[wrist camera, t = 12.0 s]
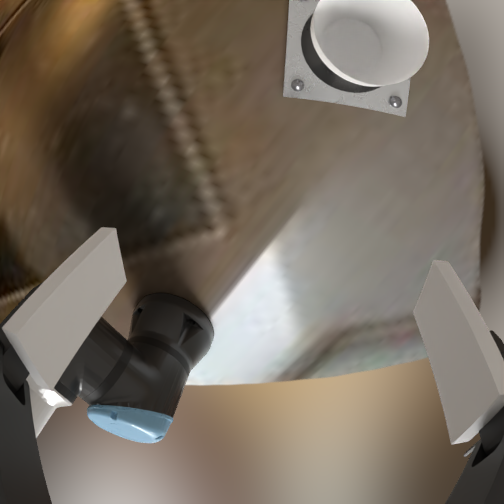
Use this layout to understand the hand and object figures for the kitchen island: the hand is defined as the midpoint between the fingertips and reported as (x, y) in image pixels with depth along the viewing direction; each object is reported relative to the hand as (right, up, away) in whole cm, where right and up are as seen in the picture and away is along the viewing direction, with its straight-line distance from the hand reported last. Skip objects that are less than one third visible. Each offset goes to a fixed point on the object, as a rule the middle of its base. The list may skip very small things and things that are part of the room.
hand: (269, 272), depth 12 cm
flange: (+10, +23, +15) cm, 30 cm away
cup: (+10, +23, +14) cm, 29 cm away
